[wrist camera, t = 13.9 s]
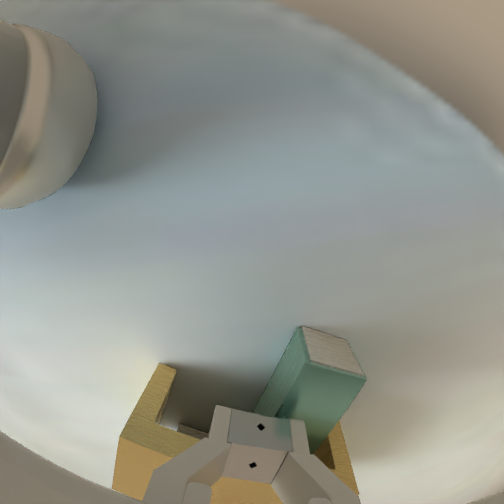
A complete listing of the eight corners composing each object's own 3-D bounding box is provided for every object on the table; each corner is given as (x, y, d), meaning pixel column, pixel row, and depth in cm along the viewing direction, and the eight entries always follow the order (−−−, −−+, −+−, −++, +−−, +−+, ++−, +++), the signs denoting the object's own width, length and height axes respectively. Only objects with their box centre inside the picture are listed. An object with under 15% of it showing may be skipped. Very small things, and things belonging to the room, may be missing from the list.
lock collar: (159, 362, 12) (119, 436, 8) (338, 418, 12) (358, 494, 8) (143, 420, 13) (112, 488, 8) (300, 466, 13) (306, 535, 9)
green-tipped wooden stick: (267, 313, 11) (269, 351, 9) (349, 341, 12) (369, 380, 9) (159, 533, 16) (152, 557, 14) (199, 544, 16) (195, 568, 14)
